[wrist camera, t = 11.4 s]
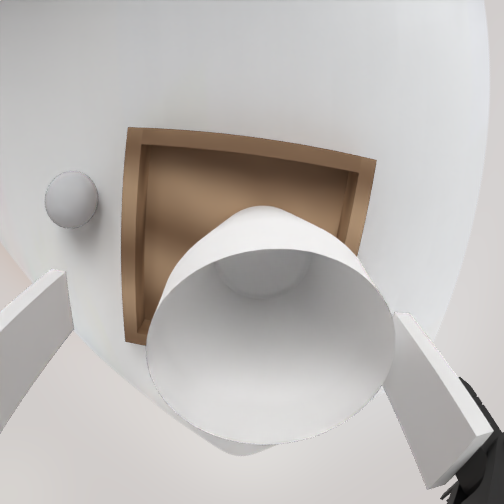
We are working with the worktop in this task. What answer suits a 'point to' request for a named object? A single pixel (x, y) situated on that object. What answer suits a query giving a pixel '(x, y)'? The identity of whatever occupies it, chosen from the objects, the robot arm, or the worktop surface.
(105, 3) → the worktop surface
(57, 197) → the ball
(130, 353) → the worktop surface
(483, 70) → the worktop surface
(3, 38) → the worktop surface
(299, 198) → the tray
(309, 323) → the cup
